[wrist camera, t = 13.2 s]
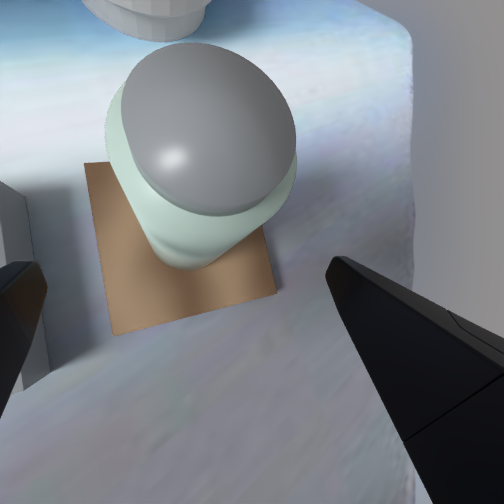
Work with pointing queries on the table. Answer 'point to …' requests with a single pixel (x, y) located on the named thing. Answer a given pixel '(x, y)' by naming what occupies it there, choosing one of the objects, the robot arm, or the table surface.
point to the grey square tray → (20, 248)
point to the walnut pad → (164, 266)
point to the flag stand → (151, 17)
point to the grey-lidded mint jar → (200, 150)
